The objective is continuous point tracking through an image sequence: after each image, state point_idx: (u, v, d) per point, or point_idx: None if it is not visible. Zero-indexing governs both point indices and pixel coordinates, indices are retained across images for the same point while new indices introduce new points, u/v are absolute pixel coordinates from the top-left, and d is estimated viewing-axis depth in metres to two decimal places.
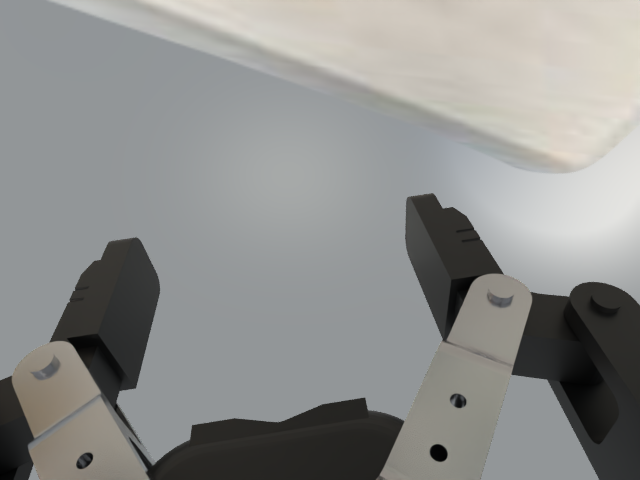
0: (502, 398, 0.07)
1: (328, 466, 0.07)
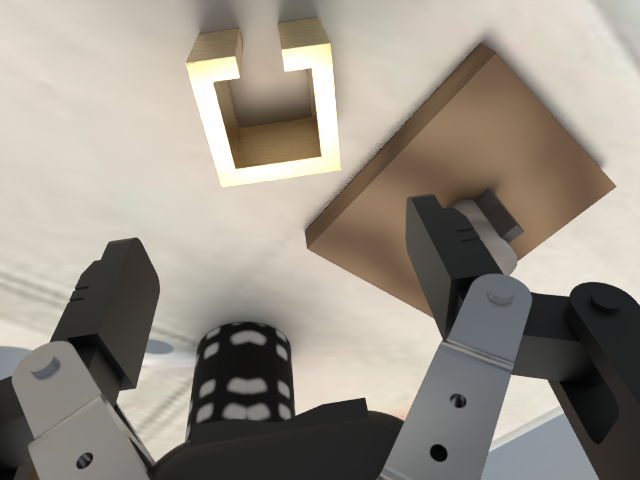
0: (502, 398, 0.07)
1: (328, 466, 0.07)
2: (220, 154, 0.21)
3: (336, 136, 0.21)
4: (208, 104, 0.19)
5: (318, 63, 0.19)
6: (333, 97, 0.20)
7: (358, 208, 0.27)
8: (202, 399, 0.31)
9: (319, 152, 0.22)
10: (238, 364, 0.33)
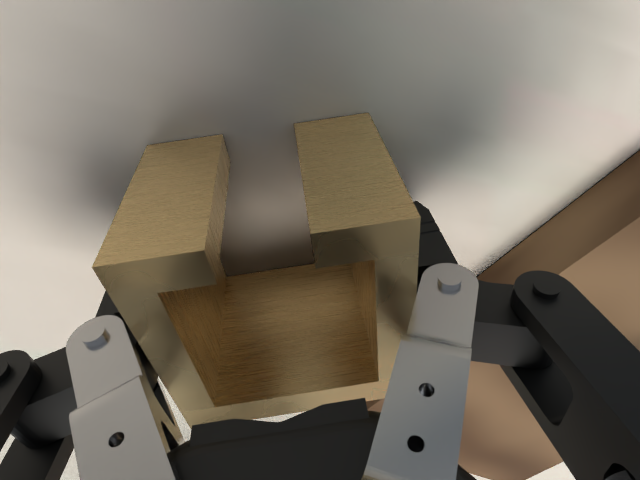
0: (466, 381, 0.07)
1: (328, 466, 0.07)
2: (185, 391, 0.11)
3: None
4: (152, 327, 0.09)
5: (389, 252, 0.08)
6: (413, 302, 0.10)
7: None
8: None
9: (372, 365, 0.12)
10: None
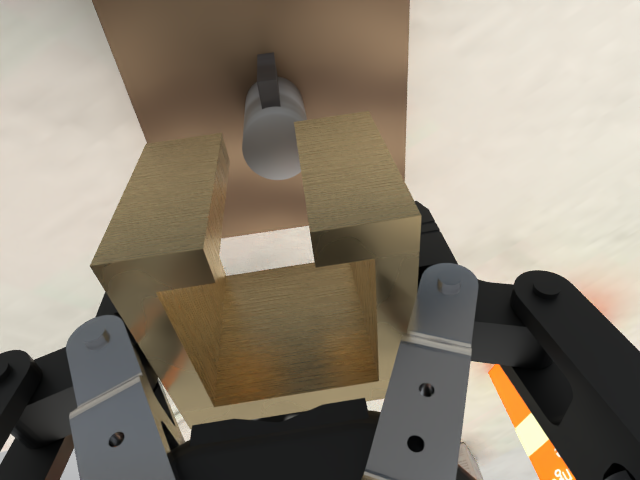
0: (466, 380, 0.07)
1: (328, 466, 0.07)
2: (184, 391, 0.11)
3: None
4: (151, 326, 0.09)
5: (389, 251, 0.08)
6: (413, 301, 0.09)
7: None
8: None
9: (372, 365, 0.12)
10: None
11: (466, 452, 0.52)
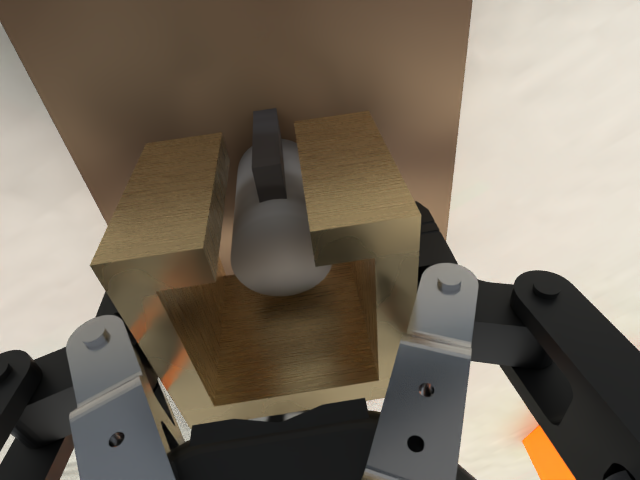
0: (466, 380, 0.07)
1: (328, 466, 0.07)
2: (184, 390, 0.11)
3: None
4: (151, 326, 0.09)
5: (389, 250, 0.08)
6: (413, 300, 0.09)
7: None
8: None
9: (372, 364, 0.12)
10: None
11: None
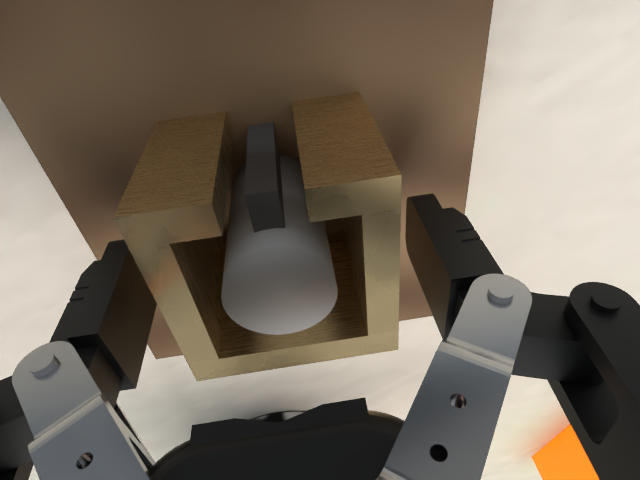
0: (502, 398, 0.07)
1: (328, 466, 0.07)
2: (191, 342, 0.12)
3: (396, 308, 0.12)
4: (164, 277, 0.10)
5: (374, 208, 0.10)
6: (397, 256, 0.11)
7: None
8: None
9: (362, 322, 0.13)
10: None
11: None
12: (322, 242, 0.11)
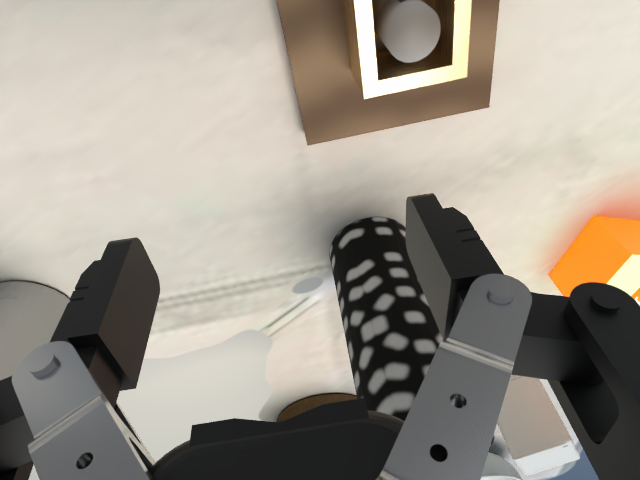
0: (502, 398, 0.07)
1: (328, 466, 0.07)
2: (367, 66, 0.24)
3: (467, 44, 0.24)
4: (364, 19, 0.23)
5: None
6: (470, 6, 0.23)
7: (304, 86, 0.30)
8: (339, 298, 0.38)
9: (448, 62, 0.25)
10: (348, 260, 0.38)
11: None
12: None
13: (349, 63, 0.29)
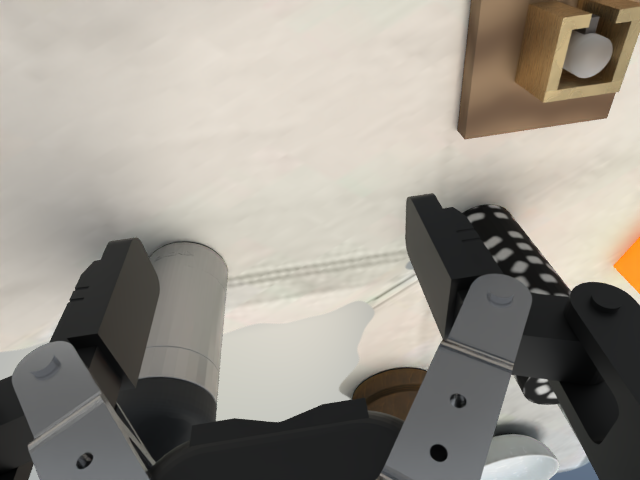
0: (502, 398, 0.07)
1: (328, 466, 0.07)
2: (553, 79, 0.33)
3: (626, 67, 0.33)
4: (562, 44, 0.31)
5: (636, 18, 0.31)
6: (635, 41, 0.32)
7: (477, 91, 0.38)
8: None
9: (606, 80, 0.34)
10: None
11: None
12: None
13: (515, 76, 0.38)
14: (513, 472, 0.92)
